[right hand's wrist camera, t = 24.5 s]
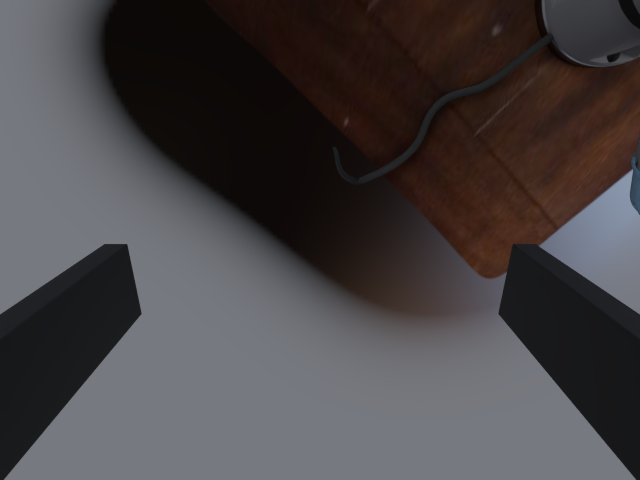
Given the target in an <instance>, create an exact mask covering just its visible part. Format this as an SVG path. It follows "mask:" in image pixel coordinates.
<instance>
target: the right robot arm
mask: <svg viewBox="0 0 640 480" xmlns="http://www.w3.org/2000/svg"><path fill="white" fill-rule="evenodd" d="M535 12H536V19H537V24H538V28H539V30H540V33H541V36H542V39H540V40H539V41H538V42H536V43H535V44H534V45H532V46H531V47H530V48H528V49H527V50H526V51H524V52H523V53H522V54H520V55H519V56H518V57H517V58H515V59H514V60H513V61H511V62H510V63H509V64H508V65H506V66H505V67H504V68H503V69H502V70H500V71H499V72H498V73H496V74H495V75H494V76H492V77H491V78H489V79H487V80H486V81H484V82H482V83H480V84H477V85H474V86H471V87H467V88H463V89H459V90H456V91H453V92H450V93H448V94H446V95H444V96H443V97H441V98H440V99H439V100H438V101H436V102H435V103H434V104H433V105H432V107H431V108H430V109H429V111H428V112H427V114H426V116H425V118H424V120H423V123H422V125H421V128H420V130H419V133H418V135H417V137H416V139H415V141H414V142H413V144H412V145H411V146H410V147H409V148H408V149H407V150H406V151H405V152H404V153H403V154H402V155H401V156H399V157H398V158H397V159H395V160H394V161H392V162H391V163H389V164H387V165H386V166H384V167H382V168H380V169H378V170H376V171H374V172H371V173H369V174H367V175H365V176H363V177H360V178H354V177H352V176H350V175H348V174H346V173H345V172H344V170H343V169H342V167H341V164H340V159H339V154H338V151H337V149H336V147H333V151H334V155H335V162H336V167H337V170H338V172H339V174H340V175H341V177H342V178H343V179H345V180H347V181H348V182H350V183H352V184H354V185H360V184H363V183H366V182H368V181H371V180H373V179H375V178H377V177H379V176H382V175H384V174H386V173H387V172H389V171H391V170H393V169H394V168H396V167H397V166H399V165H400V164H402V163H403V162H404V161H405V160H407V159H408V158H409V157H410V156H411V155H412V154H413V153H414V152H415V151H416V150H417V149H418V147H419V146H420V144H421V143H422V141H423V139H424V137H425V134H426V132H427V129H428V127H429V124H430V122H431V120H432V118H433V116H434V115H435V113H436V112H437V111H438V110H439V109H440V108H441V107H442V106H443V105H444V104H446V103H447V102H449V101H451V100H454V99H456V98H460V97H464V96H468V95H472V94H475V93H478V92H481V91H483V90H485V89H487V88H489V87H491V86H492V85H494V84H495V83H497V82H498V81H500V80H501V79H502V78H504V77H505V76H506V75H508V74H509V73H510V72H511V71H512V70H514V69H515V68H516V67H518V66H519V65H520V64H521V63H523V62H524V61H525V60H527V59H528V58H530V57H531V56H532V55H534V54H535V53H536V52H538V51H539V50H540V49H542V48H543V47H544V46H546V45H547V46H548V47H549V49H550V50H551V51H552V52H553V53H554V54H555V55H556V56H557V57H559V58H560V59H562V60H563V61H565V62H567V63H569V64H572V65H575V66H579V67H585V68H598V67H607V66H614V65H619V64H623V63H626V62H629V61H631V60H634V59H636V58H638V57H640V0H535ZM631 164H632V168H633V176H632V183H631V190H630V200H631V203H632V205H633V207H634V208H635V209H636V210H637V211H638V213H639V214H640V134H639V139H638V144H637V149H636V153H635V154H634V155H633V156H632V161H631ZM140 315H141V309H140V304H139V299H138V294H137V289H136V285H135V280H134V275H133V270H132V265H131V260H130V256H129V251H128V246H127V244H104V245H103V246H101V247H100V248H98V249H97V250H95V251H94V252H92V253H91V254H89V255H88V256H86V257H85V258H83V259H82V260H80V261H79V262H78V263H76V264H75V265H73V266H72V267H70V268H69V269H67V270H66V271H64V272H63V273H61V274H60V275H58V276H57V277H55V278H54V279H52V280H51V281H49V282H48V283H46V284H45V285H43V286H42V287H40V288H39V289H37V290H36V291H35V292H33V293H32V294H30V295H29V296H27V297H26V298H24V299H23V300H21V301H20V302H18V303H17V304H15V305H14V306H12V307H11V308H9V309H8V310H6V311H5V312H3V313H2V314H0V480H4V479H5V477H6V476H7V475H8V474H9V473H10V471H11V470H12V469H13V468H14V467H15V465H16V464H17V463H18V462H19V461H20V459H21V458H22V457H23V456H24V455H25V453H26V452H27V451H28V450H29V449H30V447H31V446H32V445H33V444H34V443H35V441H36V440H37V439H38V438H39V437H40V435H41V434H42V433H43V432H44V431H45V429H46V428H47V427H48V426H49V425H50V423H51V422H52V421H53V420H54V419H55V417H56V416H57V415H58V414H59V412H60V411H61V410H62V409H63V408H64V406H65V405H66V404H67V403H68V402H69V400H70V399H71V398H72V397H73V396H74V394H75V393H76V392H77V391H78V390H79V388H80V387H81V386H82V385H83V384H84V382H85V381H86V380H87V379H88V378H89V376H90V375H91V374H92V373H93V372H94V370H95V369H96V368H97V367H98V366H99V364H100V363H101V362H102V361H103V360H104V358H105V357H106V356H107V355H108V354H109V352H110V351H111V350H112V349H113V348H114V346H115V345H116V344H117V343H118V341H119V340H120V339H121V338H122V337H123V335H124V334H125V333H126V332H127V331H128V329H129V328H130V327H131V326H132V325H133V323H134V322H135V321H136V320H137V319H138V317H139V316H140ZM499 315H500V316H501V317H502V319H503V320H504V321H505V322H506V323H507V325H508V326H509V327H510V328H511V329H512V331H513V332H514V333H515V334H516V335H517V337H518V338H519V339H520V340H521V341H522V343H523V344H524V345H525V346H526V348H527V349H528V350H529V351H530V352H531V354H532V355H533V356H534V357H535V358H536V360H537V361H538V362H539V363H540V364H541V366H542V367H543V368H544V369H545V370H546V372H547V373H548V374H549V375H550V376H551V378H552V379H553V380H554V381H555V382H556V384H557V385H558V386H559V387H560V388H561V390H562V391H563V392H564V393H565V394H566V396H567V397H568V398H569V399H570V400H571V402H572V403H573V404H574V405H575V406H576V408H577V409H578V410H579V411H580V413H581V414H582V415H583V416H584V417H585V418H586V420H587V421H588V422H589V423H590V425H591V426H592V427H593V428H594V429H595V431H596V432H597V433H598V434H599V435H600V437H601V438H602V439H603V440H604V441H605V443H606V444H607V445H608V446H609V447H610V449H611V450H612V451H613V452H614V453H615V455H616V456H617V457H618V458H619V459H620V461H621V462H622V463H623V464H624V465H625V467H626V468H627V469H628V470H629V471H630V473H631V474H632V475H633V476H634V477H635V479H636V480H640V314H638V313H637V312H635V311H634V310H632V309H631V308H629V307H628V306H626V305H625V304H623V303H622V302H620V301H619V300H617V299H616V298H614V297H613V296H611V295H610V294H609V293H607V292H605V291H604V290H603V289H601V288H600V287H598V286H597V285H595V284H594V283H592V282H591V281H589V280H588V279H586V278H585V277H583V276H582V275H580V274H579V273H577V272H576V271H574V270H573V269H571V268H570V267H568V266H567V265H565V264H564V263H562V262H561V261H560V260H558V259H557V258H555V257H554V256H552V255H551V254H549V253H548V252H546V251H545V250H543V249H542V248H540V247H539V246H537V245H536V244H513V246H512V251H511V256H510V260H509V265H508V270H507V275H506V280H505V285H504V289H503V294H502V299H501V304H500V309H499Z"/></svg>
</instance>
